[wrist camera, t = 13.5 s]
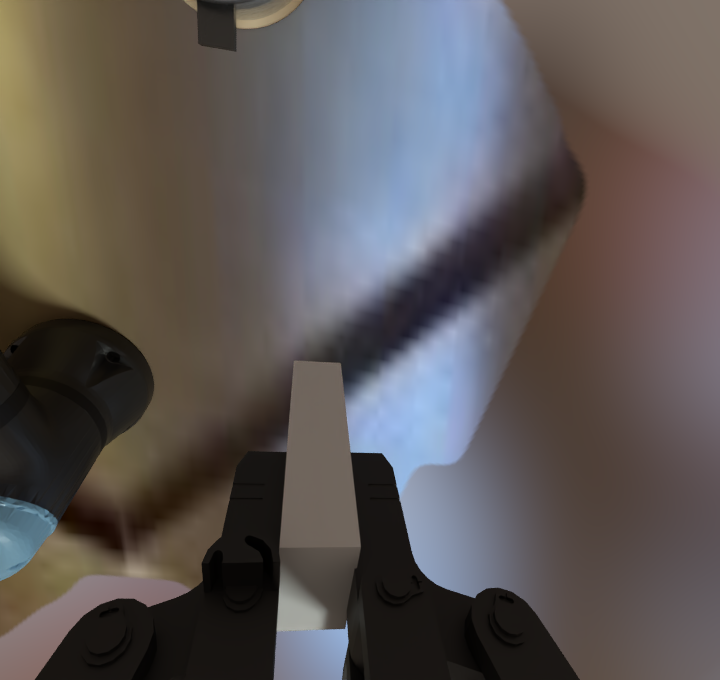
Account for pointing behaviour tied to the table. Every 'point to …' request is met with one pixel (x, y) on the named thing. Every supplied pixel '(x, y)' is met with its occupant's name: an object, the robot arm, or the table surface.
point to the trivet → (262, 21)
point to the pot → (230, 20)
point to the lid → (228, 1)
